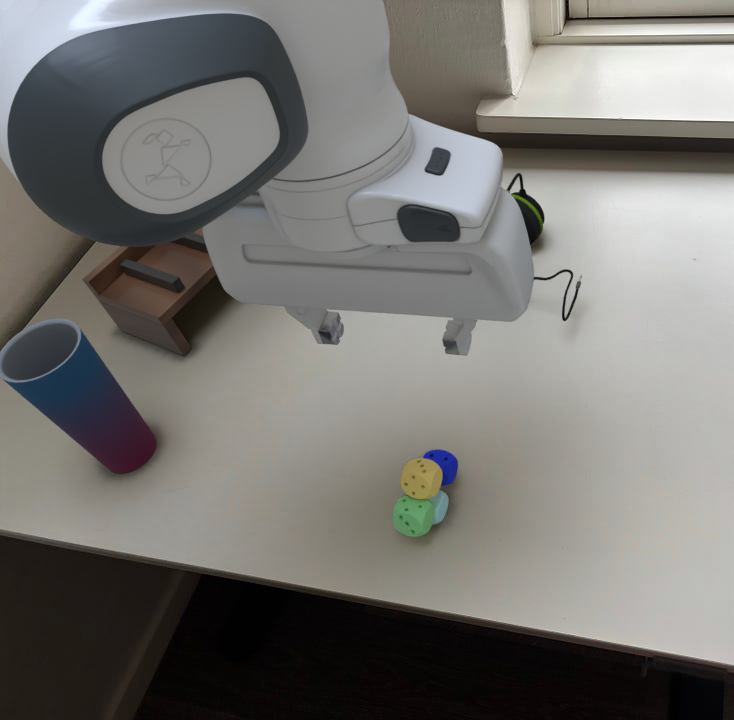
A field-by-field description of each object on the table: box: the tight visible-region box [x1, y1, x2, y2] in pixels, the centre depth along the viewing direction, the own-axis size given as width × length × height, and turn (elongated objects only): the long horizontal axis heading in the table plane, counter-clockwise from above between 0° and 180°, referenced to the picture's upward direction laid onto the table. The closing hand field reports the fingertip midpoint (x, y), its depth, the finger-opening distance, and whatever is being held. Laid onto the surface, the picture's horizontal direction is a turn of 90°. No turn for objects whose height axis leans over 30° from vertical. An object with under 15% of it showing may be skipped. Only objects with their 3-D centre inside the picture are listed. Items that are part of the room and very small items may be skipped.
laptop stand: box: [81, 227, 217, 357], centre depth 79 cm, size 14×10×8 cm
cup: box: [0, 318, 157, 474], centre depth 63 cm, size 7×7×15 cm
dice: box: [391, 448, 459, 538], centre depth 58 cm, size 8×3×6 cm, turn 160°
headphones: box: [505, 172, 583, 322], centre depth 75 cm, size 16×10×20 cm
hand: (394, 342), depth 50 cm, fingers open, 8 cm apart
